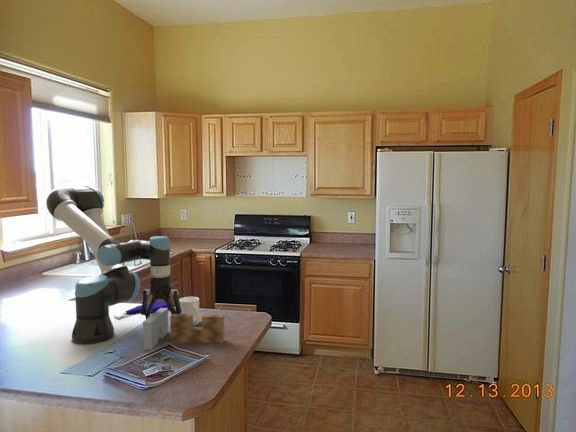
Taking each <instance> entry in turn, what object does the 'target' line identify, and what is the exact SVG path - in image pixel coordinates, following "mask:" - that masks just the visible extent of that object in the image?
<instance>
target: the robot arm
mask: <svg viewBox="0 0 576 432" xmlns="http://www.w3.org/2000/svg"><path fill="white" fill-rule="evenodd" d="M104 202H105V198H104V195H103V194H102V192H101V190H99V189H98V188H97V187H93V186H87V185H85V186H59V187H57V188H54V189H52V190H51V191H50V192H49V194H48V195H47V196H46V208H47V210H48V213H49V214H50V215H51V216H52V217H53V218H54V219H55V220H56V221H60V222H63V223H64V224H65V225H66V226H68V228H70V229H71V230H72V231H73V232H74V233H75V234H76V235H78V236H79V237H80V238H81V239H82V240H83V241H84V242H86V243H87V244H88V245H89V246H90V248H91V251H92V253H93V256H94V257H95V260H96V262H97V265H98V268H99V270H100V274H95V275H90V276H86V277H83V278H81V279H79V280H78V281H77V282H76V283H75V289H74V290H75V291H74V296H75V316H76V317H75V323H74V324H73V325H74V326H73V329H72V332H71V341H72V342H73V343H75V344H81V345H82V344H83V345H85V344H86V345H88V344H96V343H97V344H98V343H101V342H105V341H107V340H110V339H111V338H112V337H115V328H114V325H113V322H112V319H111V317H110V306H111V307H112V306H114V305H117V304H118V305H119V304H121V303H127V302H128V301H130V300H133V299H134V298H136V297H137V296H138V295H139V292H140V289H141V280H140V277H139V275H138V274H137V273H135V271H134V272H133V271H130V269H129V267H128V265H125V264H123V263H130V262H134V261H138V260H139V261H140V260H146V261H147V260H148V261H149V263H150V264H149V265H150V269H149V270H150V271H149V272H150V276H151V277H150V288H149V289H148V288H145V289H143V291H142V296H143V297H142V304H141V305H142V308H141V314H140V315H141V316H145V320H146V319H148V318H149V317H150V316H151V315H152V314H151V311H152V309H153V307H154V304H155V302H157V300H158V301H159V300H161V301H163V302H165V303H167V306H168V308H169V310H168V311H170V314H171V315H172V314H181V313H182V311H181V306H180V302H179V299H180V298H179V297H180V296H179V292H180V291H179V289H178V288H177V289H172V287H171V283H172V282H171V242H170V241H171V240H170V237H169V236H166V235H164V236H163V235H161V236H160V235H158V236H157V235H156V236H151V237H150V238H149V240H142V239H131V240H129V241H127V242H119V241H117V240H116V239H115V238H113V237H112V236H111V235H110V233H109V231H108V228H107V226H106V224H105V222H104V219H103V217H102V215H103V212H104V210H103V209H104V206H105V203H104ZM150 293H151V295H152V298H151V300H150V302H149V297H150ZM170 294H172V296H173V301H172V299H171V297H170ZM148 303H150V305H149V307H148V309H147V304H148ZM146 309H147V311H146Z"/></svg>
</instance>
